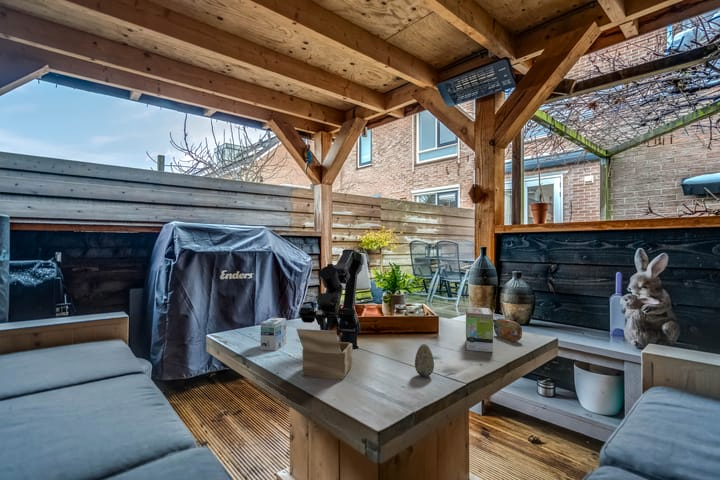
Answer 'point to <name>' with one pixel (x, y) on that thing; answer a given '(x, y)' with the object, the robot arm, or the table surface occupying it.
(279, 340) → the light bulb box
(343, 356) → the carton
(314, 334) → the carton flap
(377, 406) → the table surface
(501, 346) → the table surface
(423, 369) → the decorative egg
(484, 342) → the tea box
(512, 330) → the tin
